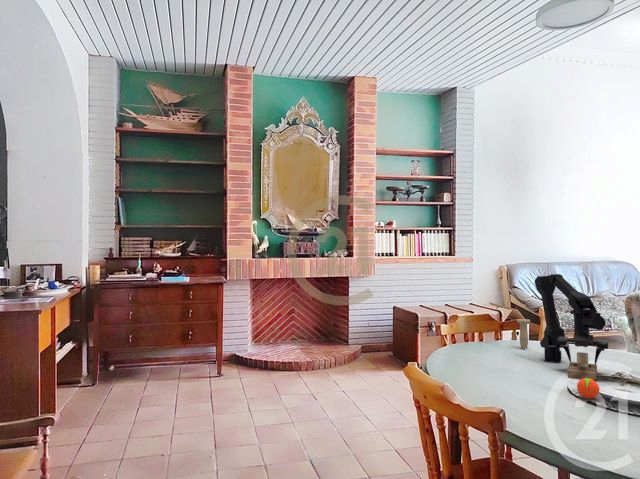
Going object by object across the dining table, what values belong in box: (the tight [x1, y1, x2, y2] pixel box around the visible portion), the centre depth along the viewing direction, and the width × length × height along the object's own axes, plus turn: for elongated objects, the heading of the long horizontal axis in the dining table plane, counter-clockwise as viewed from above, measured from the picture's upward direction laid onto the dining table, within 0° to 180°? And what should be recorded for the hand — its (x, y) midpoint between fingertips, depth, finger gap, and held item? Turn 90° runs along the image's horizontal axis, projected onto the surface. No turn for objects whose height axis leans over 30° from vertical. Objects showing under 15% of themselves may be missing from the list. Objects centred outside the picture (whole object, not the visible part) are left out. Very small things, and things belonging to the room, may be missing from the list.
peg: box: [576, 351, 589, 368], centre depth 197 cm, size 4×4×8 cm
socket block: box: [567, 361, 598, 381], centre depth 194 cm, size 10×15×3 cm, turn 148°
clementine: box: [576, 378, 600, 399], centre depth 165 cm, size 8×7×7 cm
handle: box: [516, 318, 531, 349], centre depth 242 cm, size 5×6×15 cm
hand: (582, 362), depth 197 cm, fingers open, 9 cm apart
